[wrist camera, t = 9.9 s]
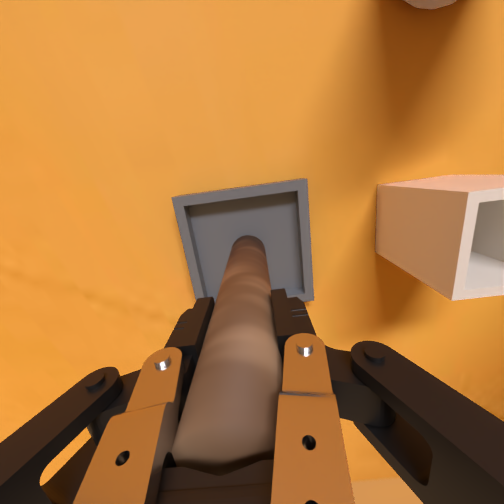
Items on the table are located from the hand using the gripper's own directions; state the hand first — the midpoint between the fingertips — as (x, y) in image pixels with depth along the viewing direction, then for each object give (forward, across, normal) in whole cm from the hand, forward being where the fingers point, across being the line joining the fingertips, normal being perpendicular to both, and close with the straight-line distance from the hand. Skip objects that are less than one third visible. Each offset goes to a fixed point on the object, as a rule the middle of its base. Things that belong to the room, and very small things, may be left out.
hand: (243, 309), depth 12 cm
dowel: (+9, 0, 0) cm, 9 cm away
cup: (+11, -15, -1) cm, 19 cm away
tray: (+11, 0, 0) cm, 11 cm away
